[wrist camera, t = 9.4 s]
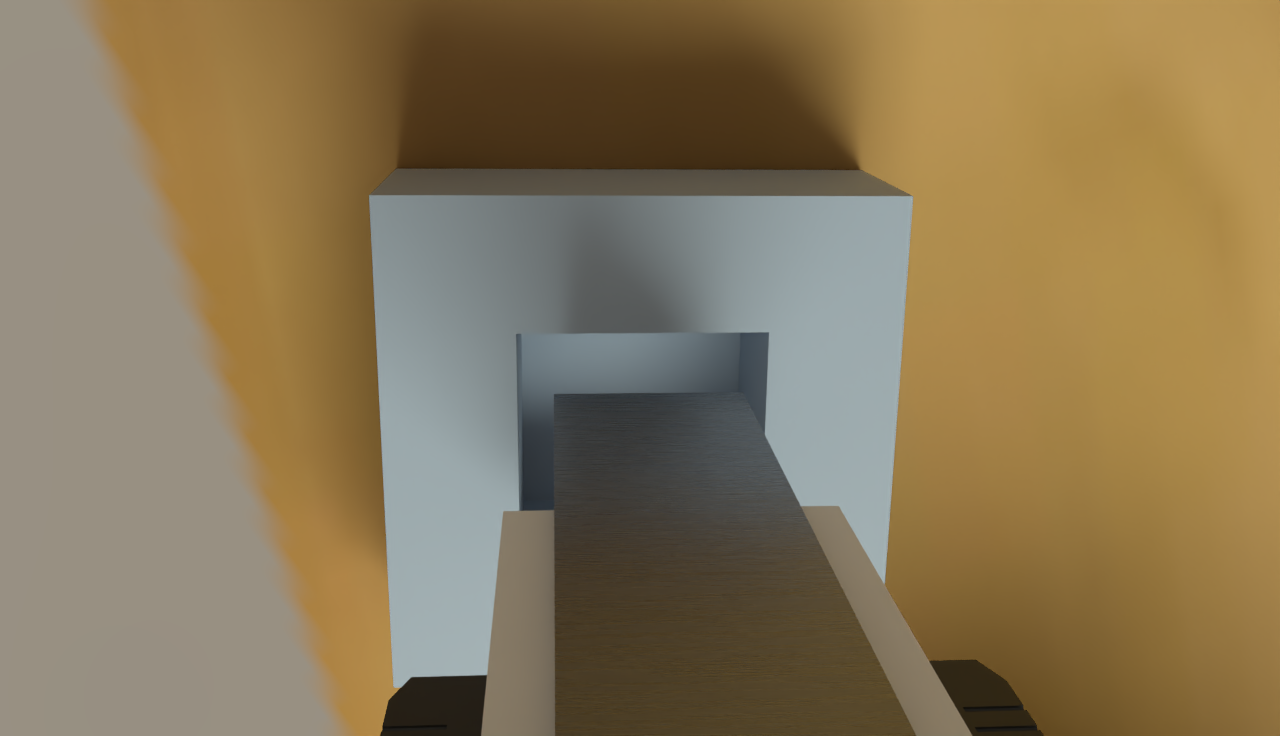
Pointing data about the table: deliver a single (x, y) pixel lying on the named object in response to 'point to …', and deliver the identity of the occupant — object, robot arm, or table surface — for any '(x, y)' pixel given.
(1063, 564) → the table surface
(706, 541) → the square bit
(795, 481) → the bore block
